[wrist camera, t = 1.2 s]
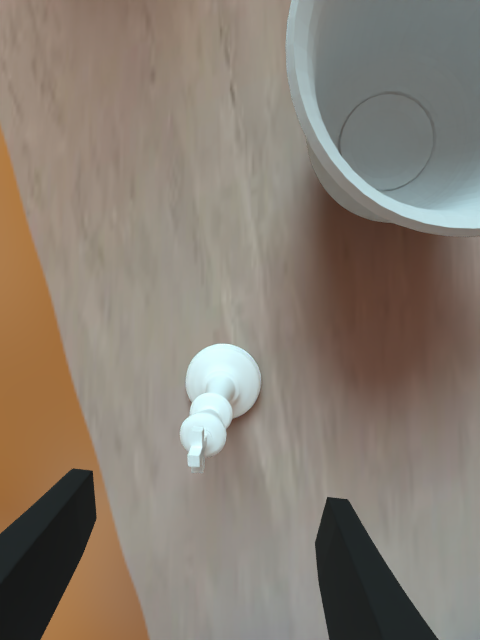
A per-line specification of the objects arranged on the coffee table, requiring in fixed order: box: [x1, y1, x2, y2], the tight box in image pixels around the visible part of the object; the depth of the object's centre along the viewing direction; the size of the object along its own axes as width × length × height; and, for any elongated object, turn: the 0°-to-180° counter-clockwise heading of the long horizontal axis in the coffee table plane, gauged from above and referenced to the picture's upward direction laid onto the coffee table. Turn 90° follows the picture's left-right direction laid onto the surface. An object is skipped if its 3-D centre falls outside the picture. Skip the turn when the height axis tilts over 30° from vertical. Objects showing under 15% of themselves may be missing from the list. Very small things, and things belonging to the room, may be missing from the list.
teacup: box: [286, 0, 480, 237], centre depth 15 cm, size 12×15×10 cm
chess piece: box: [180, 344, 261, 473], centre depth 17 cm, size 5×5×10 cm
